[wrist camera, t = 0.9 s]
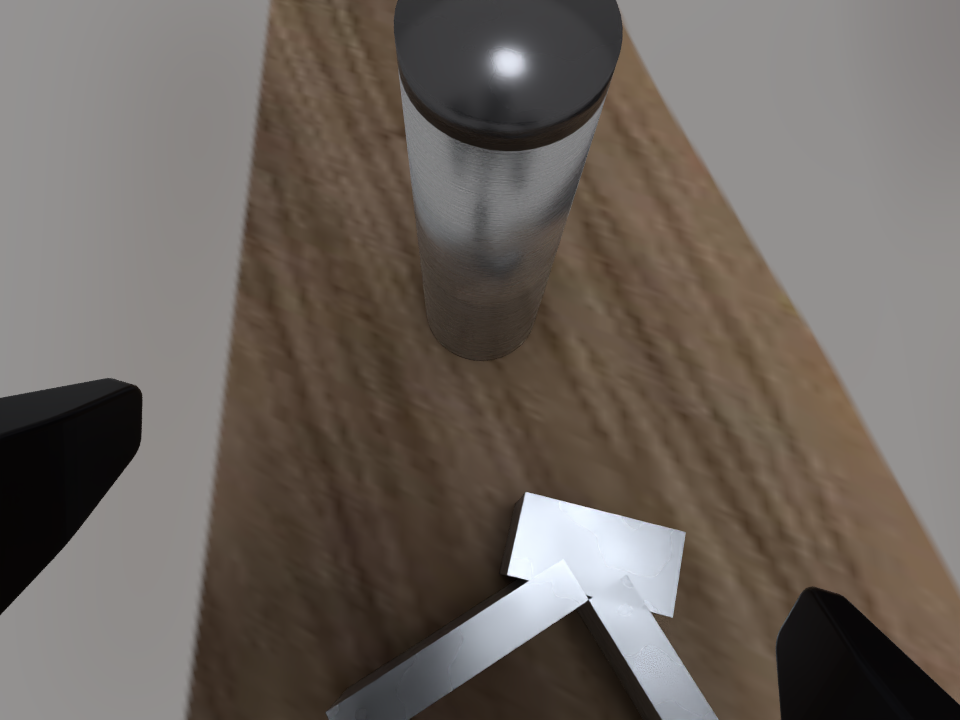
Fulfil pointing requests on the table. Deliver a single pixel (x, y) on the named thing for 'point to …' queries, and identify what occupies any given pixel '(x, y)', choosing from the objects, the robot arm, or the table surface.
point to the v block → (554, 615)
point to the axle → (497, 150)
